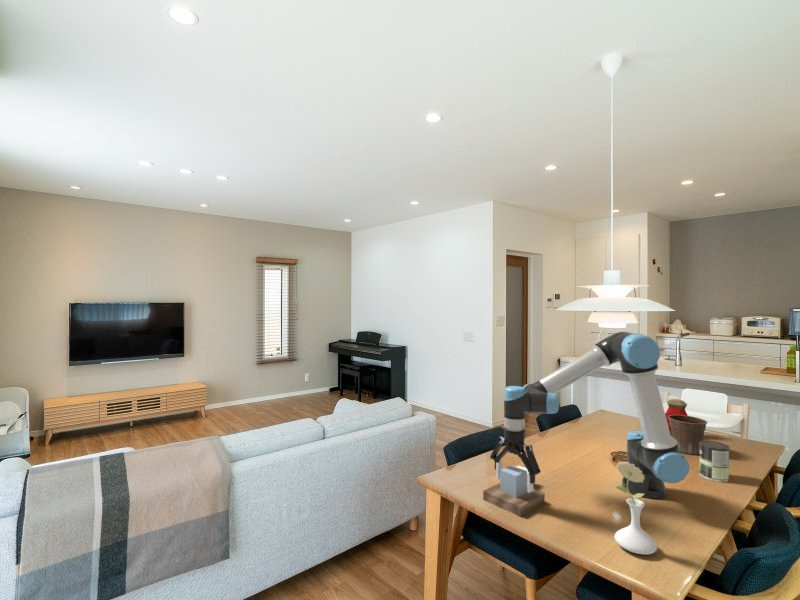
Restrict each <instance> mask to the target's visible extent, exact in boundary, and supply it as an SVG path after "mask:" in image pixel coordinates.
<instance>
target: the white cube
mask: <svg viewBox="0 0 800 600" xmlns="http://www.w3.org/2000/svg"><path fill="white" fill-rule="evenodd" d="M516 467H517V468H520V469H523V470H525V471H527V474H529V472H528V470H527V468H526V467H525V466H521V465H516Z"/></svg>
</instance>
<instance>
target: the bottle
mask: <svg viewBox="0 0 800 600" xmlns="http://www.w3.org/2000/svg"><path fill="white" fill-rule="evenodd" d="M666 403H667V406H668V408H667V409H666V411H665V416H666V420H667V423H668V427H669V431H670V435H671V425H670V421H669V418H668V416H669V415H685V416H689V415H688V414H687V411H686V408H687V406H688V403H686V402H685V401H684V400H682V399H679V398H677V399H676V398H670V399H669V400H667V401H666ZM671 437H672V436H671Z"/></svg>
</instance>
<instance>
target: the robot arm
mask: <svg viewBox="0 0 800 600" xmlns="http://www.w3.org/2000/svg"><path fill="white" fill-rule="evenodd" d="M660 358H661V349H660V347H659V345H658V343H657V342H656V341H655V340H654V339H653V338H652V337H649V336H647V335H645V334H642V333H633V332H629V331H619V332H615V333H613V334H611V335H609V336H606V337H605V338H604V339H602V340H600V341H598V342H596V343H595V344H593V345H592V348H591V349H590V350H588V351H587V352H585V353H583V354H582V355H580V356H578V357H577V358H575V359H573V360H571V361H569V362H568V363H566V364H564V365H562V366H561V367H559V368H558V369H556V370H554V371H553V372H550V373H549V374H547V375H546V376H544V377H542V378H541V379H539V380H537V381H535V382H533V383H527V384H524V385H523V386H516V385H509V386H506V387H505V388H504V395H503V404H504V405H503V415H504V416H503V427H504V428H503V436H502V435H501V436H498V437H496V444H495V445H494V448H493V450H492V451H491V454H490V456H489V457H490V459H491V460H493V462H494V470H495V473H496V474H495V479H496V480H497V481H500V470H501V469H503V461H501V460H502V458H504V456H506V454H507V453H509V454H513V455H517V456H518V458H520V460H521V461H522V463H523V466H524V467H525V468H527V470H528V472H529V474H527V492H528V493H530V492H532V491H533V489H534V484H535V483H536V476H537V475H539V474H540V473H541V469H540V466H539V464H538V462H537V458H536V456H535V454H534V448H533V445H532V444H528V445H527V444H525V439H526V435H525V434H526V431H525V429H526V427H525V426H526V421H525V420H526V414H546V415H549V414H550V415H551V414H556V413H558V412H559V407H560V401H559V397H558V395H557V393H559V392H560V391H562V390H563V389H566V388H567V387H569V386H570V385H573V384H574V383H577V381H579V380H581V379H583V378H584V377H586V376H588V375H590V374H591V373H593V372H596V371H597V370H598V369H600V368H602V367H604V366H606V367H609V366H612V365H613V364H615V363H619V364H620V367H621V371H622V373H623V375H626V376H627V377H628V379H629V380H628V381H629V385H630V388H631V391H632V395H633V399H634V403H635V408H636V411H637V415H638V419H639V423H640V427H641V430H631V431H629V432H627V437H626V462H629V463H630V464H634V465H635V467H636V468H639V469H640V470H641V471H642V474H643V475H644V477H645V479H644V480H643V482H639V483H638V482H633V481H630V480H629V481H628V490H629V492H630V494H631V495H635V494H638V493H642V494H644V493H645V494H644V495H643V496H642V498H647V499H662V498H665V497H666V495H667V488H666V485H665V483H666V484H667V483H668V484H677V483H680V482H682V481H683V480H684V479H685V478H686V476H688V475H689V473H690V462H689V460H688V459H687V457H686V456H685V455H684V454H683V453H681V452H680V450H679V447H678V443H677V440H676V439H674V438H673V437H671V435H670V431H669V427H668V423H667V420H666V416H665V413H666V411H665V408H664V404H663V400H662V397H661V394H660V390H659V389H660V388H659V386H658V385H659V384H658V381H657V377H656V371H657V370H659V366H658V362H659V359H660ZM503 444H504V445H505V446H504V447H503ZM502 447H503V449H502V450H501V448H502ZM500 450H501V451H500ZM622 476H623V475H622ZM627 480H628V478H625V477H624V476H623V477H622V479H621V485H622V486H623V487H625V488H626V489H627ZM629 492H628V493H629Z"/></svg>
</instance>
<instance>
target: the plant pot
mask: <svg viewBox="0 0 800 600" xmlns="http://www.w3.org/2000/svg"><path fill="white" fill-rule="evenodd" d="M668 418H669V421H670V425H671V436H672V437H673V438H674V439H676V440H677V443H678V447H679V450H680V453H681V454H685V455H691V456H693V455H695V456H698V455H700V444H699V442H700V441H703V440H704V436H705V435H704V434H705V431H706V428H707V424H708V421H707V420H705V419H703V418H700V417H697V416H690V415H688V416H685V415H669V416H668Z"/></svg>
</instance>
